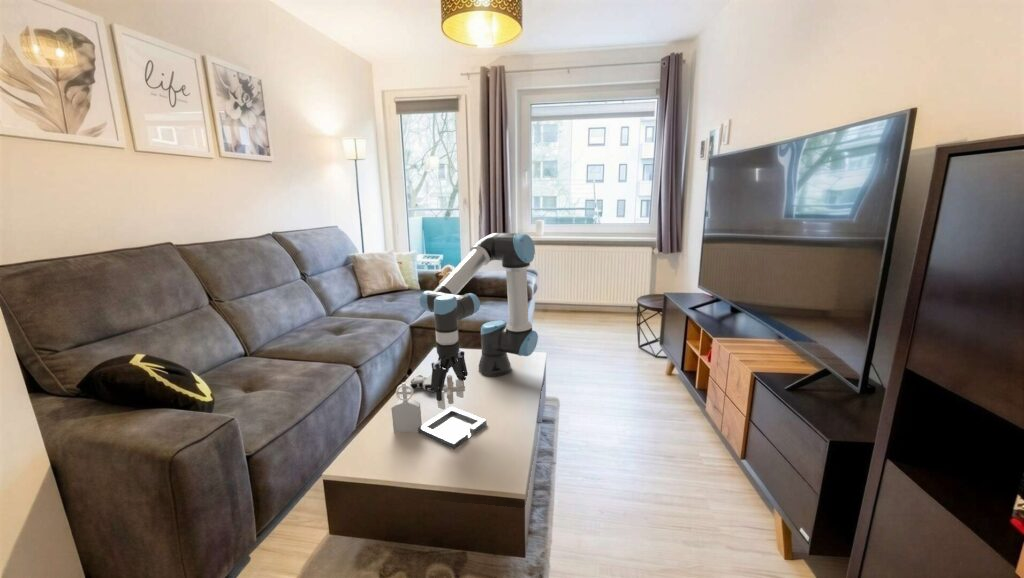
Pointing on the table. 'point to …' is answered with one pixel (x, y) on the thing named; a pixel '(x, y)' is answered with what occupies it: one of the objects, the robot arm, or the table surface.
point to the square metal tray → (452, 427)
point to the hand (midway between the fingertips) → (451, 402)
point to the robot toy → (421, 382)
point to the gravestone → (406, 411)
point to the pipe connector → (451, 389)
